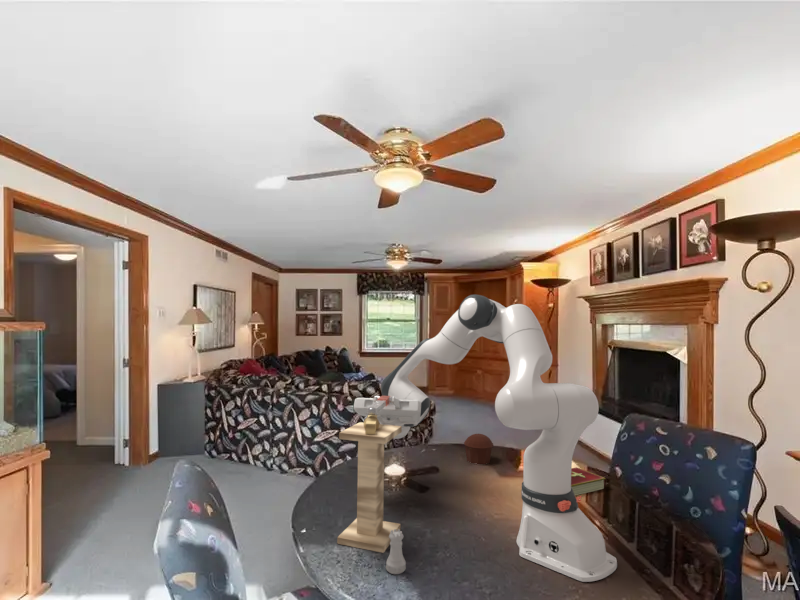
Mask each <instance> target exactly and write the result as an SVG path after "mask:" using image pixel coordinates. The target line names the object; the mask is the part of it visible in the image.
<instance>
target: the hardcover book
mask: <svg viewBox="0 0 800 600" xmlns="http://www.w3.org/2000/svg"><path fill="white" fill-rule="evenodd" d="M604 480H607V479H606V477H604V476H601V475H599V474H596V473H594V472H593V473H592V472H590V471H588V470H585V469H582V468H579V467H573V468H572V467H571V488H572V489H573V492H574V495H575V496H581V495H584V494H587V493H591V492H596V491H600V490H604V489H605V483H604V482H605V481H604Z"/></svg>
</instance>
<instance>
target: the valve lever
mask: <svg viewBox="0 0 800 600" xmlns="http://www.w3.org/2000/svg"><path fill="white" fill-rule="evenodd" d="M389 397H391V396H382V395H381V396H380V397H379V398H378V399H377V401H376V402H375V403H373V404H372V405H371V406H370V407H368V408H367V414H368V415H376V414H377V413H378V412H380V411H381V410H382V409H383V408H384V407H385V406H388V405H389Z"/></svg>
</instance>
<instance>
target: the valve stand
mask: <svg viewBox="0 0 800 600" xmlns="http://www.w3.org/2000/svg"><path fill="white" fill-rule="evenodd" d="M401 432H402V426H394V425H384V424H380V423H379V420H378V419H377V415H368V416H366V418H365V419H364V420H363V422H362V421H360V422H358V423H355V424H354V425H352V426H350V427H347V428H346V429H343V430H342V431H340V432H339V433H338V436H339V437H338V439H339V440H343V441H344V440H345V441H353V442H358V443H357V488H356V489H357V490H356V491H357V495H356V497H357V498H356V518H355V519H354V520H353V521H352V522H351V523H350V524H349V525H348V527H346V528H345V529H344V530H343V531H341V533H340V534H339V535H338V536H337V539H336V540H337V541H336V544H338V545H342V546H347V547H353V548H357V549H363V550H367V551H371V552H377V553H382V554H384V553H385V552H386V550H387V549H388V548H389V546H391V545H390V542H391V540H390V538H389V535H390V533H391V530H393V532H394V529H396V531H398V529H399V530H400V531H402V530H401V525H402V524H401V523H397V522H391V521H386V520H384V485H385V484H384V482H385V481H384V479H385V477H384V476H385V473H384V472H385V470H384V468H385V467H384V466H385V463H384V462H385V445H386V444H387V443H388V442H390V441H391V440H393V439H394V437H395V436H397V435H398V434H400V433H401Z"/></svg>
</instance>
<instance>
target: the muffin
mask: <svg viewBox="0 0 800 600" xmlns="http://www.w3.org/2000/svg"><path fill="white" fill-rule="evenodd" d="M463 443H464V448H465V449H464V451H465V455H466V462H468V461H469V462H468V463H470V462H471V463H477V464H485V465H487V464H486V463H488V464H490V462H491V456H492V449H493V448H494V443H493V441H492V439H490V437H488V436H487V435H485V434H483V433H473V434H471V435H469V436H467V438H466V439H465V440H464V442H463ZM471 463H470V464H471ZM477 464H476V465H477Z"/></svg>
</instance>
